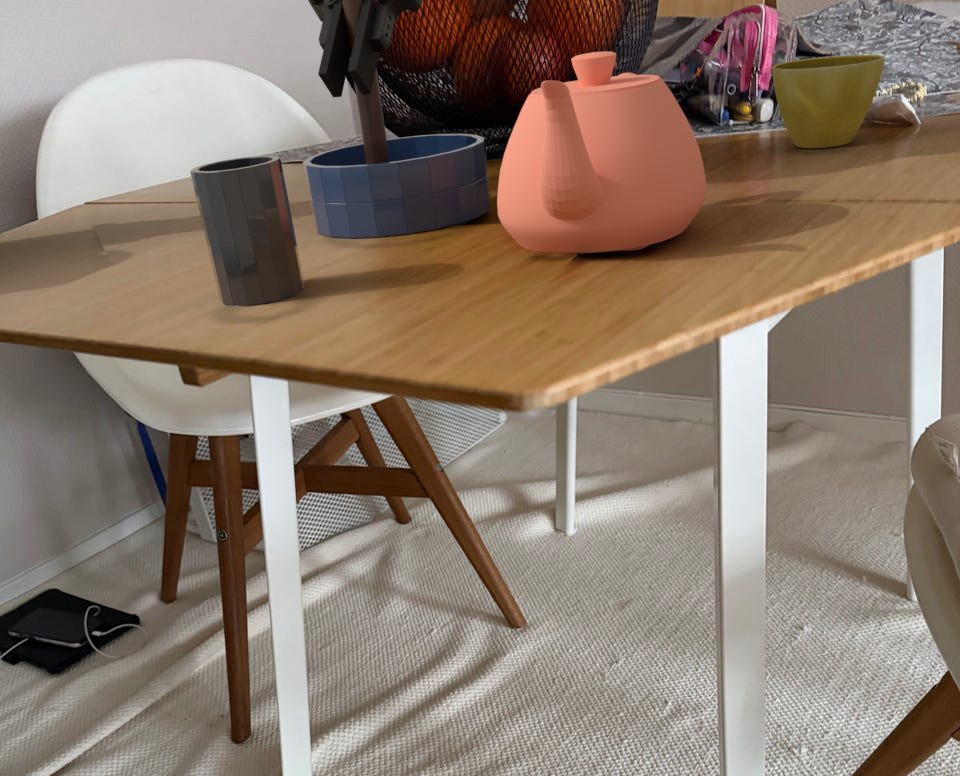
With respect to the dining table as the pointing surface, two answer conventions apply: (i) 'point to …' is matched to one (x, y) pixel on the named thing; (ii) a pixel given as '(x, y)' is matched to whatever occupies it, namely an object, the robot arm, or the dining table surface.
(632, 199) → the teapot
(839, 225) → the dining table surface
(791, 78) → the flower pot
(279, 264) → the utensil cup
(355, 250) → the dining table surface
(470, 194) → the bowl
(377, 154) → the stick
